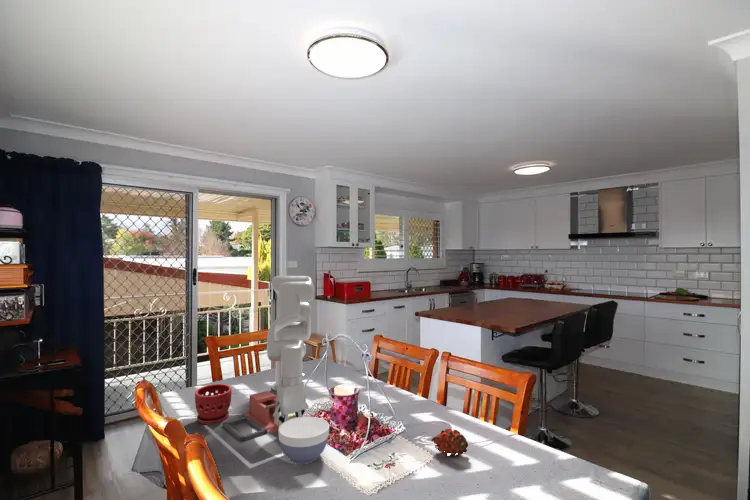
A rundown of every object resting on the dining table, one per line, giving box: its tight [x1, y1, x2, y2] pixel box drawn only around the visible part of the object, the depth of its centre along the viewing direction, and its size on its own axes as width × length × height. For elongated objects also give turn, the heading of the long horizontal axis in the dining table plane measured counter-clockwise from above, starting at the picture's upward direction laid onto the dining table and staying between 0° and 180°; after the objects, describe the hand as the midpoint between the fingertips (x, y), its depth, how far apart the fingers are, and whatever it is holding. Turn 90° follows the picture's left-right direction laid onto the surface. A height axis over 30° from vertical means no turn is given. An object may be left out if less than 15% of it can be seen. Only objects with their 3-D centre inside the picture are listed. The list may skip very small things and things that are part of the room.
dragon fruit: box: [431, 428, 469, 456], centre depth 128 cm, size 8×8×12 cm
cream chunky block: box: [274, 412, 297, 427], centre depth 144 cm, size 10×4×5 cm, turn 42°
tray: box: [222, 416, 268, 442], centre depth 143 cm, size 9×16×2 cm, turn 43°
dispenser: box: [243, 390, 279, 434], centre depth 152 cm, size 22×12×8 cm, turn 43°
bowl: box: [277, 416, 330, 465], centre depth 126 cm, size 16×16×10 cm
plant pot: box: [194, 383, 232, 425], centre depth 153 cm, size 13×13×12 cm
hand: (291, 430), depth 141 cm, fingers closed on cream chunky block, 4 cm apart
